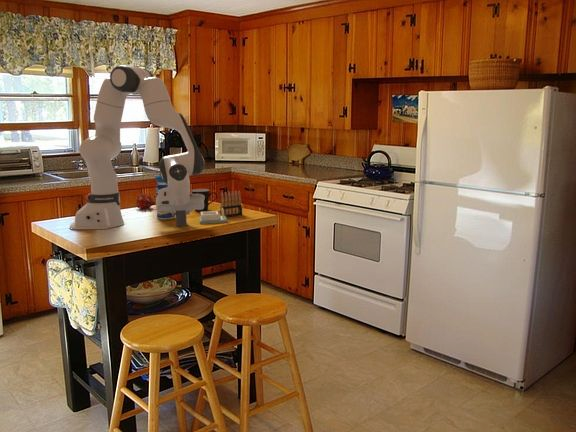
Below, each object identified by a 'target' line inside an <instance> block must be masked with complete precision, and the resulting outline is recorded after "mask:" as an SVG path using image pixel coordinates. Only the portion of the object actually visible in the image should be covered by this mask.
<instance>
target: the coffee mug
mask: <svg viewBox="0 0 576 432" xmlns="http://www.w3.org/2000/svg"><path fill="white" fill-rule="evenodd" d="M191 194H202V195H204V196H205V200H204V209H202V210H194V211H195V212H208V210H209V206H210V205H211V204H212V203H214V202H215V200H216V201H217V198H218V194H217V192H213V191H212V192H210V189H208V188H197V189H191ZM212 194H214V195H215V198H214V199H213V200H212V201H210V202H209V199H210V197H211V195H212Z"/></svg>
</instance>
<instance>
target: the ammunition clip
mask: <svg viewBox="0 0 576 432" xmlns="http://www.w3.org/2000/svg"><path fill="white" fill-rule="evenodd" d="M222 208H223V209H224V216H226V218H232V217H240V216H243V207H242V197H241V191H240V190H238V191H237V190H235V191H233V190H231V192H230V191H229V190H228V192H227V191H225V192H224V193H223V191H221V193H220V212H219V213H220V215H219V216H222ZM239 215H240V216H239Z"/></svg>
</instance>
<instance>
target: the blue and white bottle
mask: <svg viewBox="0 0 576 432" xmlns="http://www.w3.org/2000/svg"><path fill="white" fill-rule="evenodd" d="M155 178H156V183H157V184H156V187H155V190H154V191H155V197H154V198H155V200H156V199H157V196H158V191H159V190H160V189H163V188H167V187H168V184H166V183H165V182H164V181H163V180H162V178H161V175H160V174H157V175H156V177H155ZM156 218H157V219H158V220H160V221H161V220H163V221H165V220H172V219H174V218H175V219H176V215H172V213H170V212H169V211H160V212H159V211H157V210H156Z"/></svg>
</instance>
